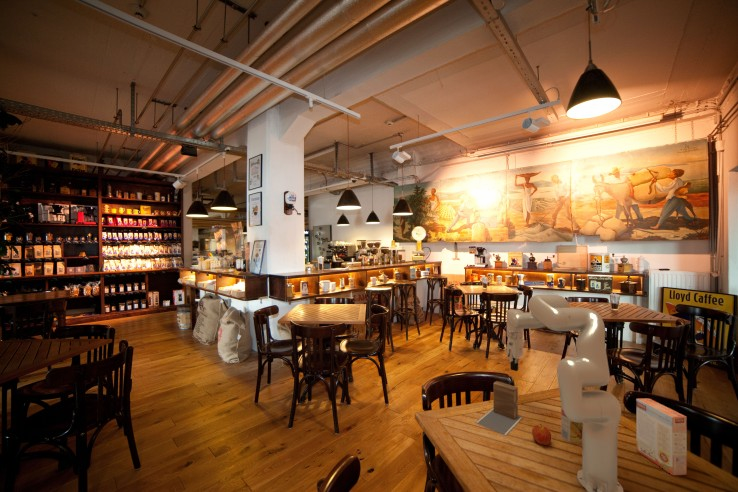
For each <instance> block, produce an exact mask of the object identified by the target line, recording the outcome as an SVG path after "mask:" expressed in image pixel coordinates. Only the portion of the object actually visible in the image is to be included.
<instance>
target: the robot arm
mask: <svg viewBox="0 0 738 492" xmlns="http://www.w3.org/2000/svg"><path fill="white" fill-rule="evenodd" d="M527 307H528V309H529V312H523V311H522V310H520V309H516V308H510V309H508V310H507V311H506V337H507V342H506V343H507V344H506V356H507V358H508V359H509V361H510V370H511V371H515V372H518V371H519V362H520V361H519V358H521V357H522V356H523V355H524V340H523V338H524V329H525V330H527V329H540V328H543V327H546V328H548V329H549V330H551V331H555V332H575V331H577V332H578V331H579V332H580V333H579V334H578V336H577V337H576V338H577V339H576V341H575V349H576V357H575V356H574V357H565V358H562V359H561V360H560V361H559V362H558V364H557V368H556V375H557V384H558V391H559V398H560V399H559V400H560V404H561V407H562V409H563V411H564V413H565V415H566V417H567V418H568V419H570V420H571V421H573V422H577V423H583V430H582V443H581V445H582V446H581V447H582V449H581V451H582V454H581V455H582V457H581V458H582V462H581V463H582V464H581V466H582V467H581V468H582V469H579V470H578V471H577V474H576V477H577V481H578V483H579V484H580V485H581V486H582V487H583V489H585V490H586V491H587V492H624V488H623V486H622V485H621V483H620V482H619V481H618V433H619V426H620V425H619V424H620V421H621V416H622V407H621V404H620V401H619V400H618V398H617V396H615V395H614V394H612V393H611V392H608V391H605V390H601V389H589V390H588V389H584V390H583V388H593V387H595V388H596V387H604V386H607V385H608V384H609V383H610V380H611V375H610V368H609V361H608V355H607V350H606V344H605V342H606V341H605V340H606V336H605V335H606V328H605V323H604V320H603V318H602V316H601V315H600V314H599V313H598V312H597V311H595V310H594V309H591V308H588V307H578V306H577V307H571V306H570V307H569V302H568V300H567V299H566V298H565V297H564V296H562V295H559V294H535V295H533V296H532V297H530V299H529V301H528V305H527Z"/></svg>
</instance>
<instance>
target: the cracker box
mask: <svg viewBox="0 0 738 492" xmlns="http://www.w3.org/2000/svg"><path fill="white" fill-rule="evenodd" d="M635 401H636V406H635V407H636V415H635V416H636V427H635V428H636V432H635V433H636V434H635V435H636V439H635V441H636V445H635V446H636V451H637V452H638V453H640V454H641V455H642V456H644V457H645V458H646V457H647V458H646V459H648V460H649V461H651V462H652V463H654V464H655V465H656V466H658V467H659V466H660V467H659V468H661V469H662V468H663V469H662V470H663V471H665V472H666V473H668V474H669V473H670V475H671V476H687V474H688V473H687V472H688V471H687V469H688V467H687V466H688V465H687V464H688V459H687V458H688V457H687V454H688V453H687V451H688V450H687V449H688V448H687V445H688V444H687V439H688V438H687V437H688V435H687V434H688V432H687V428H688V427H687V421H688V420H687V416H686V415H684V414H682V413H679V412H678V411H676V410H674V409H672V408H670V407H667V406H665V404H661V403H659V402H657V401H656V400H653V399H652V398H647V397H646V398H636V399H635Z"/></svg>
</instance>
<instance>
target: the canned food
mask: <svg viewBox="0 0 738 492" xmlns="http://www.w3.org/2000/svg"><path fill="white" fill-rule="evenodd" d="M560 412H561V413H560V415H561V416H560V417H561V418H560V422H561V423H560V424H561V426H560V427H561V428H560V429H561V431H560V432H561V433H560V434H561V438H562V439H564V440H565V441H567V442H569V443H571V444H577V445H581V444H582V430H583V424H584V423H577V422H573V421H571V420H570V419H568V418H567V417H566V415H565V413H564V411H563V409H562V406H561V411H560ZM580 443H581V444H580Z"/></svg>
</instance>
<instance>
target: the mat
mask: <svg viewBox="0 0 738 492" xmlns="http://www.w3.org/2000/svg"><path fill="white" fill-rule="evenodd" d="M522 419H524V417H522V416H519V415H518V417H517V418H516V419H515V420H513V419H511V418H508V417H506V416H503V415H500V414H498V413H495V412H494V406H493V407H492V408H491V409H489V410H488V411H486V412H485V414H483V415H482V416H481V417H480V418H479V419H477V420H476V421H475V424H477V425H478V426H479V425H480V426H482V427H484V428H487V429H489V430H491V431H493V432H496V433H498V434H501V435H503V436H506V437H507V436H508V435H509V433H511V432H512V431H513V429H514V428H515V427H516V426H517V425H518V424H519V423H520V422H521V421H522Z"/></svg>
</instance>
